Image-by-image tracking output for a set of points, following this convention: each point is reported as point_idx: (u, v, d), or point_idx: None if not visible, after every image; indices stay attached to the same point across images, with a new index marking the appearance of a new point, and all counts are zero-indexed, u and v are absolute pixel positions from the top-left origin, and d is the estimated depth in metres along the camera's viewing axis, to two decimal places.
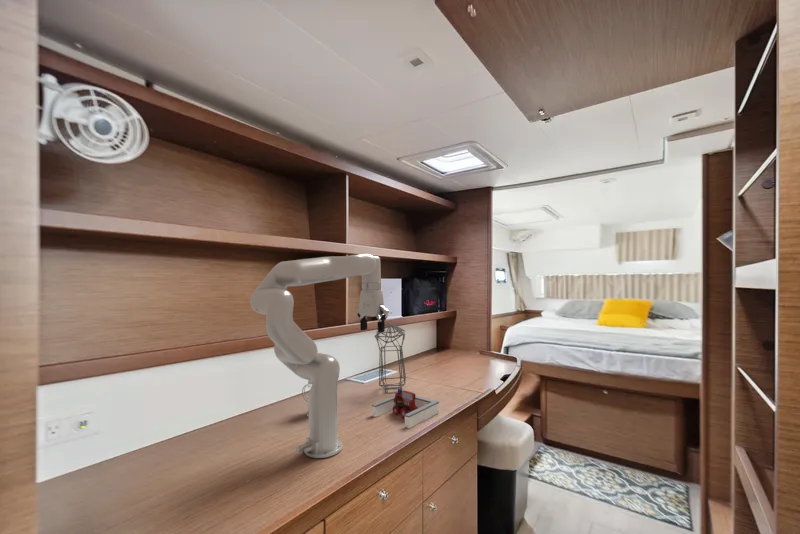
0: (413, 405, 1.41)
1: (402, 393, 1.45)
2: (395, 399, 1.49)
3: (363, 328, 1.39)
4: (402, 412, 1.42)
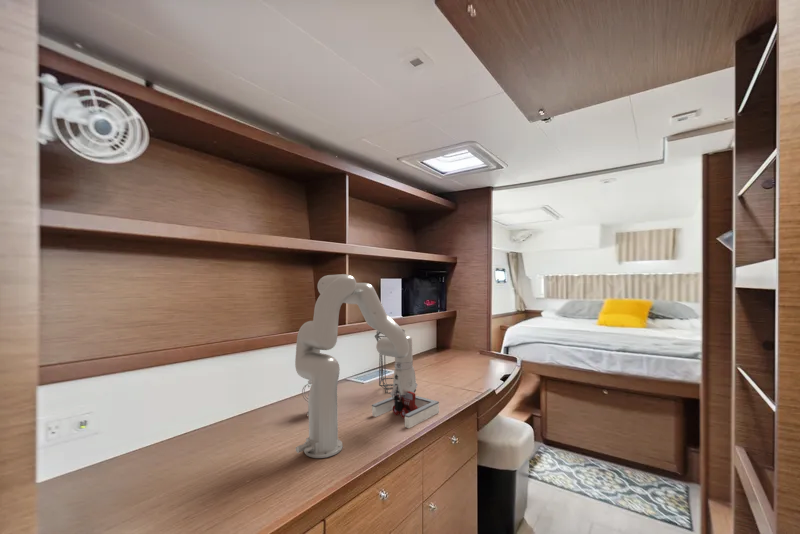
0: (413, 405, 1.41)
1: None
2: None
3: None
4: (402, 411, 1.42)
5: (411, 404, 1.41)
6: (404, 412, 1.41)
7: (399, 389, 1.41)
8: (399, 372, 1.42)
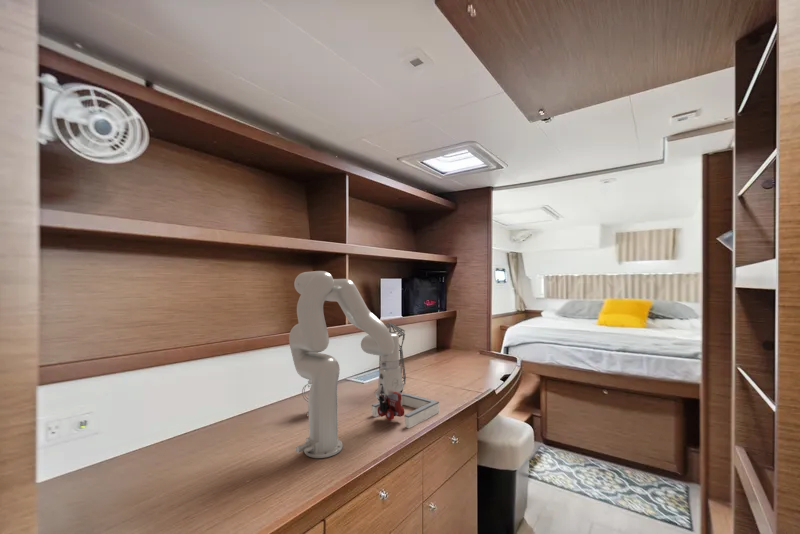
0: (399, 406, 1.35)
1: None
2: None
3: None
4: (387, 413, 1.35)
5: (397, 405, 1.35)
6: (389, 413, 1.34)
7: (384, 389, 1.35)
8: (384, 371, 1.36)
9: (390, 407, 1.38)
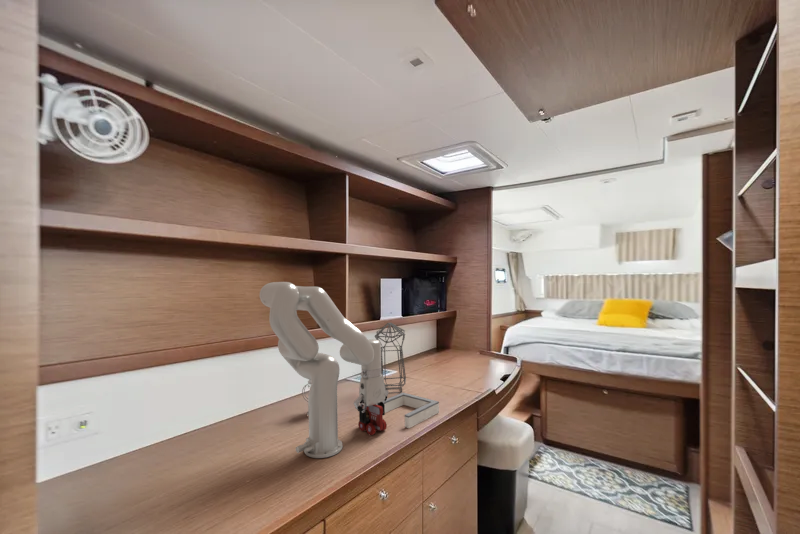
0: (380, 420, 1.27)
1: (369, 406, 1.31)
2: None
3: None
4: (368, 427, 1.27)
5: (378, 419, 1.27)
6: (370, 428, 1.26)
7: (365, 399, 1.27)
8: (365, 380, 1.28)
9: (371, 421, 1.30)
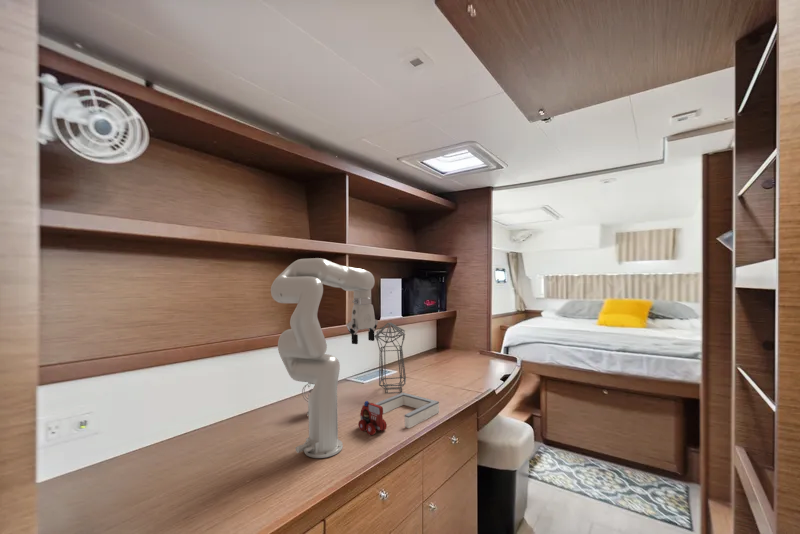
0: (380, 420, 1.27)
1: (369, 406, 1.31)
2: (361, 412, 1.34)
3: None
4: (368, 427, 1.27)
5: (378, 419, 1.27)
6: (370, 428, 1.26)
7: (356, 323, 1.44)
8: (357, 307, 1.45)
9: (371, 421, 1.30)
